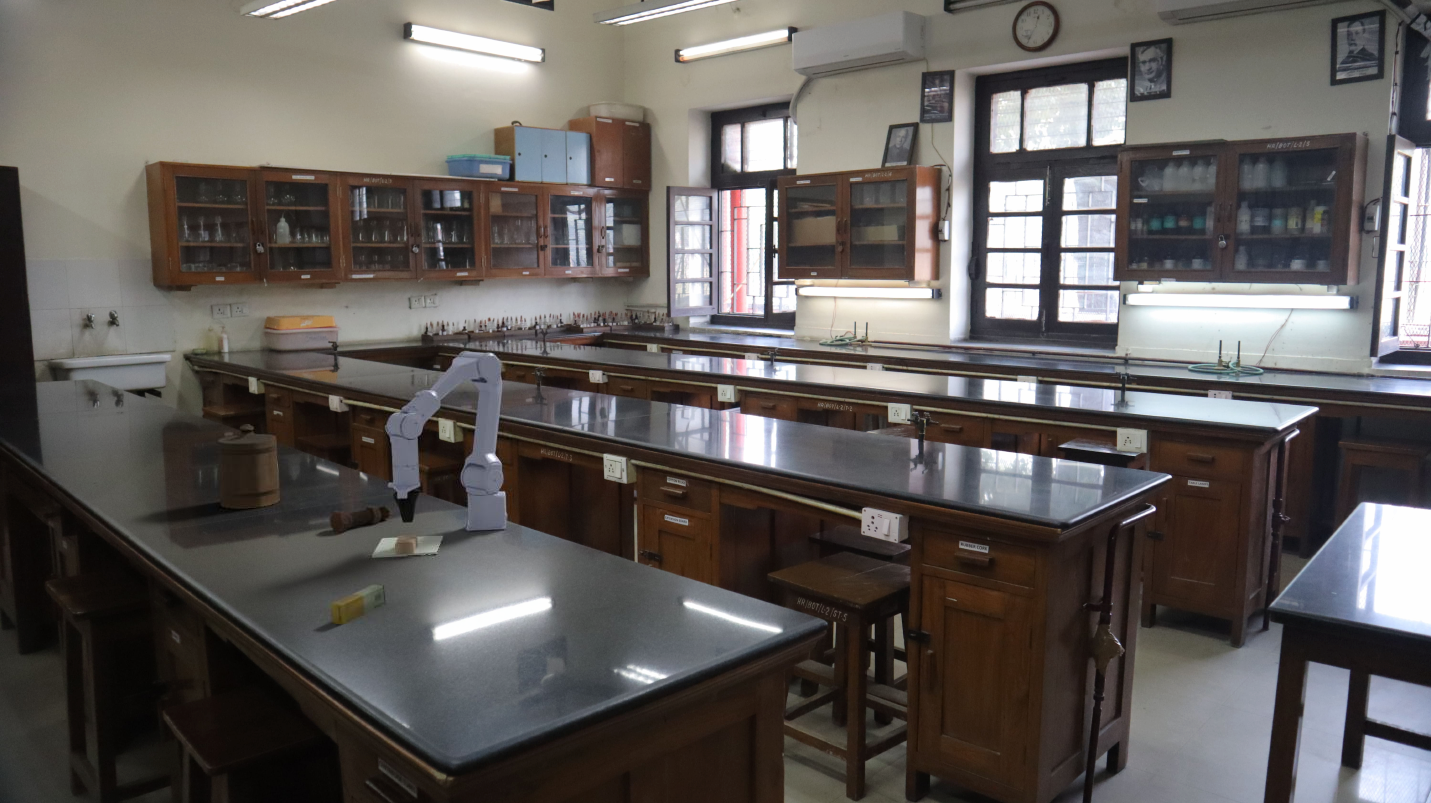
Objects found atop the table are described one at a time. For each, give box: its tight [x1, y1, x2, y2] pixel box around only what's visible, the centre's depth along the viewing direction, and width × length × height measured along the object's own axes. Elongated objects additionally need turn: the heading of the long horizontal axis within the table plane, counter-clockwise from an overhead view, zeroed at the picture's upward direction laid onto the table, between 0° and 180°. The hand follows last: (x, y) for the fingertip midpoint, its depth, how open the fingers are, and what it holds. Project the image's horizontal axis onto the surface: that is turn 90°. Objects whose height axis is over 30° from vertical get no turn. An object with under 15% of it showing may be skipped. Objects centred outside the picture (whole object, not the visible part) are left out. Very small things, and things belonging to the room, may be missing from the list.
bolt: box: [329, 505, 391, 533], centre depth 245 cm, size 6×5×15 cm
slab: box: [395, 534, 418, 554], centre depth 221 cm, size 4×2×7 cm
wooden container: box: [217, 423, 281, 510], centre depth 266 cm, size 15×15×22 cm
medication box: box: [330, 583, 387, 625], centre depth 182 cm, size 12×3×4 cm, turn 159°
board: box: [371, 535, 444, 559], centre depth 225 cm, size 14×14×1 cm
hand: (407, 521), depth 225 cm, fingers closed
